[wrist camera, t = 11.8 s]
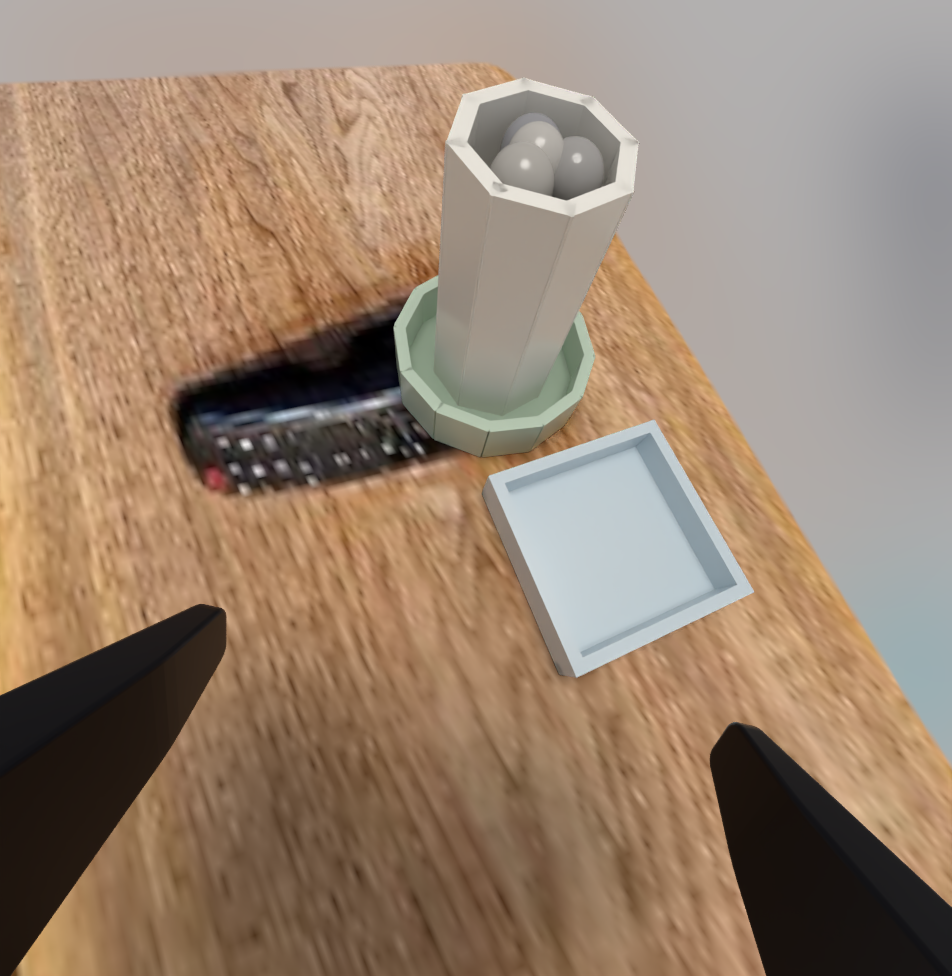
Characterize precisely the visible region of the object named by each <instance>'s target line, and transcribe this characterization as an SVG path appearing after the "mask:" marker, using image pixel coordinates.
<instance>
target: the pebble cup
mask: <svg viewBox="0 0 952 976" xmlns="http://www.w3.org/2000/svg"><path fill="white" fill-rule="evenodd" d="M639 144H640V143H639V141H637V140H636V139H635V138H634V137H633V136H632V135H631V134H630V133H629V132H628V131H627V130H626V129H625V128H624V127H623V126H622V125H621V124H620V123H619V122H618V121H617V120H616V119H615V118H614V117H613V116H612V115H611V114H610V113H609V112H608V111H607V110H606V109H605V108H604V107H603V106H602V105H601V104H600V103H599V102H598V101H597V100H596V99H595V97H593V96H588V95H584V94H580V93H576V92H573V91H570V90H566V89H562V88H559V87H555V86H551V85H548V84H544V83H541V82H537V81H533V80H530V79H526V78H522V79H518V80H515V81H511V82H507V83H504V84H500V85H496V86H493V87H489V88H485V89H482V90H478V91H474V92H471V93H467V94H463V95H462V100H461V103H460V105H459V108H458V111H457V114H456V117H455V119H454V122H453V125H452V128H451V131H450V133H449V136H448V139H447V141H445V158H444V178H443V197H442V217H441V236H440V256H439V275H438V294H437V314H436V333H435V353H434V373H435V374H436V375H437V376H438V378H439V379H440V381H441V382H442V383H443V385H444V386H445V388H446V389H447V391H448V392H449V393H450V395H451V396H452V398H453V399H454V401H455V402H456V403H457V405H458V406H462V407H466V408H470V409H475V410H479V411H483V412H487V413H491V414H495V415H499V416H503V415H505V414H507V413H509V412H511V411H513V410H515V409H516V408H518V407H520V406H522V405H524V404H526V403H528V402H529V401H531V400H533V399H535V398H538V397H539V395H540V393H541V390H542V388H543V386H544V384H545V382H546V380H547V378H548V375H549V373H550V371H551V369H552V367H553V365H554V363H555V360H556V358H557V356H558V354H559V352H560V350H561V348H562V346H563V343H564V341H565V339H566V337H567V335H568V333H569V331H570V328H571V326H572V324H573V322H574V320H575V318H576V316H577V313H578V311H579V309H580V307H581V305H582V303H583V301H584V299H585V296H586V294H587V292H588V290H589V288H590V286H591V284H592V281H593V279H594V277H595V275H596V273H597V271H598V269H599V266H600V264H601V262H602V260H603V258H604V256H605V254H606V251H607V249H608V247H609V245H610V243H611V241H612V239H613V237H614V234H615V232H616V230H617V228H618V226H619V224H620V221H621V219H622V217H623V215H624V213H625V211H626V209H627V206H628V204H629V202H630V200H631V198H632V196H633V194H634V190H633V189H634V180H635V171H636V162H637V152H638V146H639Z"/></svg>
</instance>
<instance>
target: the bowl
mask: <svg viewBox="0 0 952 976" xmlns="http://www.w3.org/2000/svg"><path fill="white" fill-rule="evenodd" d="M437 294H438V276H436V277H434V278H432V279H430V280H428V281H427V282H425V283H423V284H421V285H419V286H417V287H416V288H415V289H414V290H413V292H412V293H411V295H410V297H409V299H408V301H407V303H406V304H405V306H404V308H403V310H402V312H401V314H400V315H399V317H398V319H397V321H396V323H395V324H394V337H395V350H396V363H397V370H398V377H399V384H400V391H401V398H402V403H403V405H404V406H405V407H406V408H407V410H408V411H409V412H410V413H411V414H412V415H413V416H414V418H415V419H416V420H417V421H418V422H419V423H420V425H421V426H422V427H423V428H424V429H425V430H426V432H427V433H428V434H429V435H430V436H431V437H432V438H434V440H436V441H439V442H441V443H444V444H447V445H449V446H452V447H455V448H457V449H460V450H462V451H465V452H468V453H470V454H473V455H476V456H478V457H481V456H482V457H490V456H499V455H507V454H516V453H524V452H529V451H532V450H533V449H534V448H535V447H537V446H538V445H539V444H541V443H542V442H543V441H545V440H546V439H547V438H549V437H550V436H551V435H553V434H554V433H555V432H556V431H558V430H559V429H560V428H562V427H563V426H564V425H565V424H566V422H567V420H568V419H569V417H570V416H571V414H572V413H573V411H574V410H575V408H576V406H577V405H578V403H579V402H580V400H581V399H582V397H583V394H584V391H585V388H586V385H587V381H588V378H589V375H590V372H591V369H592V365H593V362H594V359H595V353H594V350H593V347H592V344H591V341H590V338H589V334H588V331H587V328H586V325H585V322H584V318H583V315H581V313H580V312H579V311H578V313H577V316H576V318H575V320H574V322H573V324H572V326H571V328H570V331H569V333H568V335H567V337H566V339H565V341H564V343H563V346H562V348H561V350H560V352H559V354H558V356H557V358H556V360H555V363H554V365H553V367H552V369H551V371H550V373H549V375H548V378H547V380H546V382H545V384H544V386H543V388H542V390H541V393H540V395H539V397H538V398H535V399H533V400H531V401H529V402H528V403H526V404H524V405H522V406H520V407H518V408H516V409H515V410H513V411H511V412H509V413H507V414H505V415H503V416H499V415H495V414H491V413H487V412H483V411H479V410H475V409H470V408H466V407H462V406H458V405H457V403H456V402H455V401H454V399H453V398H452V396H451V395H450V393H449V392H448V391H447V389H446V388H445V386H444V385H443V383H442V382H441V381H440V379H439V378H438V376H437V375H436V374H435V373H434V353H435V333H436V314H437Z"/></svg>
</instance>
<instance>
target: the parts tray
mask: <svg viewBox="0 0 952 976" xmlns="http://www.w3.org/2000/svg"><path fill="white" fill-rule="evenodd" d="M482 495H483V498H484V500H485V503H486V505H487V507H488V510H489V512H490V514H491V517H492V519H493V521H494V524H495V526H496V528H497V531H498V533H499V535H500V538H501V540H502V542H503V545H504V547H505V549H506V552H507V554H508V556H509V559H510V561H511V563H512V566H513V568H514V570H515V573H516V575H517V577H518V580H519V582H520V584H521V587H522V589H523V591H524V594H525V596H526V598H527V601H528V603H529V605H530V608H531V610H532V613H533V615H534V617H535V620H536V622H537V624H538V627H539V629H540V631H541V634H542V636H543V638H544V641H545V643H546V645H547V648H548V650H549V652H550V655H551V657H552V659H553V662H554V664H555V666H556V669H557V671H558V673H559V675H563V676H570V677H576V678H577V677H579V676H581V675H583V674H585V673H587V672H589V671H592V670H594V669H596V668H598V667H600V666H602V665H604V664H606V663H608V662H610V661H612V660H614V659H616V658H619V657H621V656H623V655H625V654H627V653H629V652H631V651H633V650H635V649H637V648H639V647H641V646H643V645H646V644H648V643H650V642H652V641H654V640H656V639H658V638H660V637H662V636H664V635H666V634H668V633H670V632H673V631H675V630H677V629H679V628H681V627H683V626H685V625H687V624H689V623H691V622H693V621H695V620H697V619H700V618H702V617H704V616H706V615H708V614H710V613H712V612H714V611H716V610H718V609H720V608H722V607H724V606H727V605H729V604H731V603H733V602H735V601H737V600H739V599H741V598H743V597H745V596H747V595H749V594H751V593H754V591H753V589H752V587H751V586H750V584H749V582H748V580H747V579H746V577H745V575H744V573H743V572H742V570H741V568H740V567H739V565H738V563H737V561H736V560H735V558H734V556H733V554H732V553H731V551H730V549H729V548H728V546H727V544H726V542H725V541H724V539H723V537H722V535H721V534H720V532H719V530H718V529H717V527H716V525H715V523H714V522H713V520H712V518H711V517H710V515H709V513H708V511H707V510H706V508H705V506H704V504H703V503H702V501H701V499H700V498H699V496H698V494H697V492H696V491H695V489H694V487H693V485H692V484H691V482H690V480H689V479H688V477H687V475H686V473H685V472H684V470H683V468H682V466H681V465H680V463H679V461H678V460H677V458H676V456H675V454H674V453H673V451H672V449H671V448H670V446H669V444H668V442H667V441H666V439H665V437H664V435H663V434H662V432H661V430H660V429H659V427H658V425H657V423H656V422H655V420H652V421H649V422H646V423H643V424H640V425H637V426H634V427H631V428H628V429H625V430H622V431H619V432H616V433H613V434H610V435H608V436H605V437H602V438H599V439H596V440H593V441H590V442H587V443H584V444H581V445H578V446H575V447H572V448H569V449H566V450H563V451H560V452H558V453H555V454H552V455H549V456H546V457H543V458H540V459H537V460H534V461H531V462H528V463H525V464H522V465H519V466H516V467H513V468H510V469H508V470H505V471H502V472H499V473H496V474H493V475H490V476H488V478H487V481H486V484H485V486H484V489H483V491H482Z"/></svg>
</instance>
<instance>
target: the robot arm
mask: <svg viewBox="0 0 952 976" xmlns="http://www.w3.org/2000/svg"><path fill="white" fill-rule="evenodd" d="M225 649H226V612H225V610H224V609H222V608H219V607H214V606H210V605H205V604H199V605H195V606H193V607H191V608H189V609H186V610H184V611H182V612H180V613H178V614H176V615H173V616H171V617H169V618H167V619H165V620H163V621H160V622H158V623H156V624H154V625H152V626H150V627H147V628H145V629H143V630H141V631H139V632H137V633H134V634H132V635H130V636H128V637H126V638H124V639H121V640H119V641H117V642H115V643H113V644H111V645H108V646H106V647H104V648H102V649H100V650H98V651H95V652H93V653H91V654H89V655H87V656H85V657H82V658H80V659H78V660H76V661H74V662H72V663H69V664H67V665H65V666H63V667H61V668H59V669H57V670H54V671H52V672H50V673H48V674H46V675H44V676H41V677H39V678H37V679H35V680H33V681H31V682H28V683H26V684H24V685H22V686H20V687H18V688H15V689H13V690H11V691H9V692H7V693H5V694H2V695H0V976H11V975H12V973H13V972H14V970H15V969H16V967H17V966H18V965H19V963H20V962H21V960H22V959H23V958H24V956H25V955H26V953H27V952H28V950H29V949H30V948H31V946H32V945H33V943H34V942H35V940H36V939H37V938H38V936H39V935H40V933H41V932H42V931H43V929H44V928H45V926H46V925H47V923H48V922H49V921H50V919H51V918H52V916H53V915H54V913H55V912H56V911H57V909H58V908H59V906H60V905H61V904H62V902H63V901H64V899H65V898H66V896H67V895H68V894H69V892H70V891H71V889H72V888H73V886H74V885H75V884H76V882H77V881H78V879H79V878H80V877H81V875H82V874H83V872H84V871H85V869H86V868H87V867H88V865H89V864H90V862H91V861H92V860H93V858H94V857H95V855H96V854H97V852H98V851H99V850H100V848H101V847H102V845H103V844H104V842H105V841H106V840H107V838H108V837H109V835H110V834H111V833H112V831H113V830H114V828H115V827H116V825H117V824H118V823H119V821H120V820H121V818H122V817H123V815H124V814H125V813H126V811H127V810H128V808H129V807H130V806H131V804H132V803H133V801H134V800H135V798H136V797H137V796H138V794H139V793H140V791H141V790H142V788H143V787H144V786H145V784H146V783H147V781H148V780H149V779H150V777H151V776H152V774H153V773H154V771H155V770H156V769H157V767H158V766H159V764H160V763H161V761H162V760H163V758H164V757H165V755H166V754H167V752H168V751H169V749H170V748H171V746H172V745H173V743H174V741H175V740H176V738H177V736H178V735H179V733H180V731H181V729H182V728H183V726H184V724H185V722H186V721H187V719H188V717H189V715H190V714H191V712H192V710H193V708H194V707H195V705H196V703H197V701H198V700H199V698H200V696H201V694H202V693H203V691H204V689H205V687H206V686H207V684H208V682H209V680H210V679H211V677H212V675H213V673H214V672H215V670H216V668H217V666H218V665H219V663H220V661H221V659H222V657H223V655H224V652H225ZM710 767H711V772H712V777H713V781H714V786H715V790H716V795H717V799H718V804H719V808H720V813H721V817H722V822H723V827H724V831H725V836H726V840H727V845H728V849H729V853H730V857H731V861H732V865H733V869H734V872H735V876H736V879H737V883H738V886H739V889H740V892H741V896H742V899H743V902H744V905H745V909H746V912H747V915H748V918H749V922H750V925H751V928H752V931H753V935H754V938H755V941H756V944H757V948H758V951H759V954H760V957H761V961H762V964H763V967H764V970H765V973H766V976H952V907H951V906H950V905H949V904H948V903H946V902H945V901H944V900H943V899H942V898H941V897H940V896H939V895H938V894H937V893H936V892H935V891H934V890H933V889H931V888H930V887H929V886H928V885H927V884H926V883H925V882H924V881H923V880H922V879H921V878H920V877H919V876H917V875H916V874H915V873H914V872H913V871H912V870H911V869H910V868H909V867H908V866H907V865H906V864H905V863H903V862H902V861H901V860H900V859H899V858H898V857H897V856H896V855H895V854H894V853H893V852H892V851H891V850H890V849H888V848H887V847H886V846H885V845H884V844H883V843H882V842H881V841H880V840H879V839H878V838H877V837H876V836H874V835H873V834H872V833H871V832H870V831H869V830H868V829H867V828H866V827H865V826H864V825H863V824H862V823H860V822H859V821H858V820H857V819H856V818H855V817H854V816H853V815H852V814H851V813H850V812H849V811H848V810H847V809H845V808H844V807H843V806H842V805H841V804H840V803H839V802H838V801H837V800H836V799H835V798H834V797H833V796H831V795H830V794H829V793H828V792H827V791H826V790H825V789H824V788H823V787H822V786H821V785H820V784H819V783H817V782H816V781H815V780H814V779H813V778H812V777H811V776H810V775H809V774H808V773H807V772H806V771H805V770H804V769H802V768H801V767H800V766H799V765H798V764H797V763H796V762H795V761H794V760H793V759H792V758H791V757H790V756H788V755H787V754H786V753H785V752H784V751H783V750H782V749H781V748H780V747H779V746H778V745H777V744H776V743H775V742H773V741H772V740H771V739H770V738H769V737H768V736H767V735H766V734H765V733H764V732H763V731H762V730H760V729H759V728H757V727H755V726H752V725H747V724H743V723H738V722H733V723H731V724H729V725H728V726H727V728H726V729H725V731H724V732H723V734H722V735H721V737H720V738H719V740H718V741H717V743H716V744H715V746H714V747H713V749H712V750H711V754H710Z"/></svg>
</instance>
